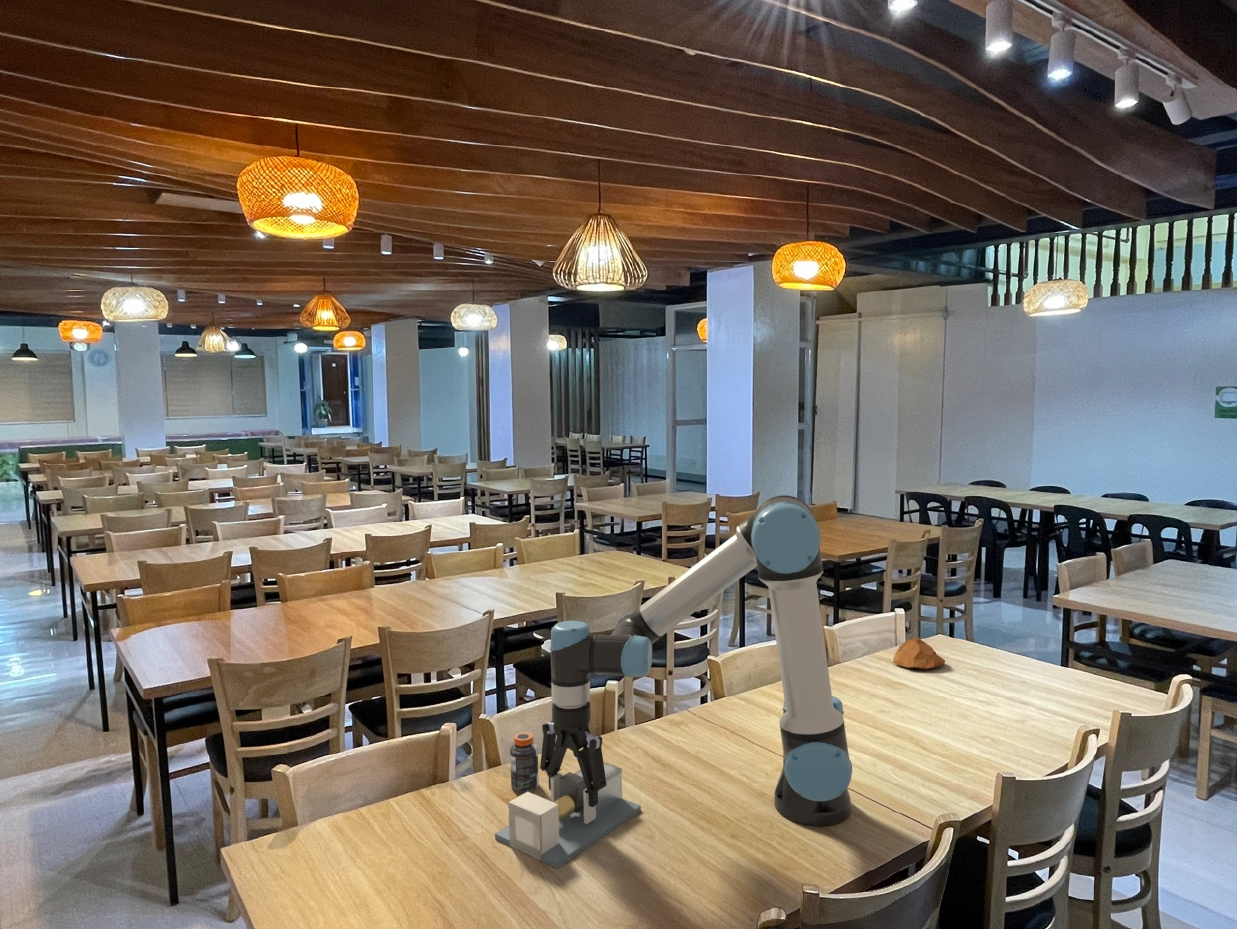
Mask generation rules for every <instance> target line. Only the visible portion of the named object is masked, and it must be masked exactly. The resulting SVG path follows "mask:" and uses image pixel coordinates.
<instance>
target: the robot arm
mask: <svg viewBox="0 0 1237 929" xmlns="http://www.w3.org/2000/svg"><path fill="white" fill-rule="evenodd" d="M823 567H824V566H823V559H822V551H821V531H820V528H819V525H818V522H817V520H816V518H815V515H814V513H813V511H812V510H811V508H810V506H809V505H808V504H807V503H806V502H804V501H803V500H802V499H800V498H798V497H796V496H793V495H789V494H788V495H787V494H782V495H775V496H772V497H770V498H769V499H767V500H765V501H764V502H763V503H762V504H761V505H760V506H758V507H757V508H756V509H755V511H754V512H752V513H751V515H749V517H747V518H746V519H744V521H742V522H741V523H739V524H738V525H737V526H736V529H735V534H734V535H732V536H731V537H729V538H728V539H727V540H726V541H724V542H723V543H722V544H720V545H719V546H718V547H716V548H715V549H714V550H712V552H709V553H708V555H707V554H706V556H705V557H703V558H702V559H701V560H699V561H698V562H697V563H695V564H693V566H692V567H690V568H688V569H687V570H686V571H685V572H684V573H682V574H680V576H678V577H677V578H675V579H674V580H673V581H672V582H670V583H669V584H668V585H667V586H665V587H664V588H663V589H661V590H660V591H659V592H657V593H656V594H654V595H653V596H652V597H651V598H650V599H648V600H646V601H645V602H644V603H643V604H641V605H640V606H639V607H638V608H637V609H635V610H634V611H633V612H628V613H627V614H625V615H624V616H622V618H621V619H619V620H618V622H617V624H616V625H615V628H614V629H613V631H612V633H610V634H594V633H591V630H590V627H589V625H588V624H587V623H586V622H584V621H579V620H566V621H565V620H564V621H559V622H558V623H555V624H554V626H553V627H551V630H550V647H549V650H550V669H551V672H550V673H551V675H550V676H551V702H552V704H551V720H549V721H548V722H545V723H543V724H542V726H541V727H542V733H543V738H542V739H543V740H542V744H541V745H542V748H541V756H540V764H539V765H540V766H539V768H540V770H541V771H542V772H543V771H545V772H546V775H547V776H548V789H549V791H550V801H551V802H554V801H556V800H558V799H559V798H560V791H559V778H560V777H562V776H563V775H564V773H562V772H560V771H562V770H563V769H562V768H561V767H562V764H563V761H564V758H565V755H566V752H567V750H570V751H572V754H573V755H574V758H576V759H577V763H578V767H579V770H581V772H582V775H583V779H584V782H585V785H586V788H587V789H585V790H583V796H584V823H586V824H588V823H589V822H591V821H592V820H594V819H595V818H596V805H597V804H598V791H599V790H601V789H602V788H604V787H605V786H606V785H607V783H606V776H605V770H604V763H603V762H604V757H603V752H602V751H603V750H602V746H603V737H602V736H601V735H598V736H595V735H592V734H591V731H590V727H589V725H590V722H591V715H592V714H591V713H592V712H591V711H592V710H591V702H590V699H591V675H601V676H602V675H603V676H615V677H616V676H617V677H626V678H633V677H634V678H635V677H647V676H648V675H649V674H650V672H651V666H652V662H653V644H654V643H656V642H657V641H658V640H659V639H660V638H662V637H663V636H664V635H665V634H666V633H668V632H669V631H671V630H672V629H674V628H675V627H676V626H678V625H679V624H681V623H682V622H683V621H684V620H686V619H687V618H688V617H689V616H692V614H694V613H695V612H696V611H698V610H699V609H700V608H702V607H703V606H705V605H706V604H707V603H709V602H710V601H711V600H713V599H715V598H716V597H717V596H718V595H719V594H721V593H722V592H724V591H725V590H726V589H728V588H729V587H731V586H732V585H733V584H735V583H736V582H737V581H739V580H740V579H741V578H743V577H744V576H746V575H747V574H748V573H749V572H751V571H753V569H755V568H757V574H758V579H759V580H760V582H762V583H763V584H765V586H767V587H768V592H769V593H768V594H769V601H770V608H771V614H772V620H773V627H774V635H775V641H776V650H777V655H778V663H779V671H780V676H781V677H780V678H781V684H782V685H781V686H782V690H783V698H784V699H783V707H782V711H783V714H782V716H781V717H780V718H779V720H778V721H779V729H780V730H779V731H780V736H781V742H782V743H781V744H782V755H783V757H782V759H783V760H782V763H783V764H782V770H781V772H780V775H779V778H778V781H777V784H776V786H775V790H774V793H773V794H774V798H773V800H774V807H775V810H777V812H778V813H779V815H782V816H783V817H785V818H786V819H789V820H790V821H793V822H795V823H798V824H803V825H807V826H817V827H818V826H819V827H823V826H824V827H825V826H832V825H837V824H839V823H842V822H844V821H846V820H847V819H848V818H849V817H850V816H851V812H852V800H851V795H850V792H849V789H848V787H849V786H850V783H851V780H852V776H853V775H852V774H853V764H852V761H851V759H850V755H849V748H848V741H847V734H846V727H845V719H844V718H845V717H844V714H845V711H844V709H843V708H844V706H843V702H842V700H840V698H838V697H836V696H834V695H833V693H832V687H831V680H830V679H831V678H830V672H829V666H828V659H827V657H828V656H827V650H826V643H825V636H824V630H823V622H822V616H821V615H822V614H821V607H820V606H821V605H820V599H819V594H818V592H819V591H818V586H817V582H818V579H820V577H821V576H822V574H823V573H824V568H823ZM592 782H593V783H592Z"/></svg>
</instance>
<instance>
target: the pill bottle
mask: <svg viewBox="0 0 1237 929" xmlns="http://www.w3.org/2000/svg"><path fill="white" fill-rule="evenodd" d="M513 740H514V741H513V744H512V746H510V750H509V752H510V753H509V761H510V763H509V764H510V786H511V789H512V790H513V791H515V792H518V793H526V792H532V791H535V790H536V789H537V788H538V786H539V785H540V784H539V782H540V780H539V753H538V752H539V751H538V746H537V744H536V743H534V736H533V734H532V733H530V732H520V733H517V734H515V735H514V737H513Z"/></svg>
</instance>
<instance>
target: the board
mask: <svg viewBox="0 0 1237 929" xmlns="http://www.w3.org/2000/svg"><path fill="white" fill-rule="evenodd" d="M641 807H642V805H640V804H638V803H635V802H633V801H629V800H627V799H625V798H622V799H621V800H619V801H618V802H616V803H614V804H613V805H611V806H610V807H608V808H607V809H605V810H604V811H602V812H601V813H599V814H598V815H596V818H595V819H594V820H592V821H591V822H589V823H588V824H586V823H584V811H583V810H581V811H579V812H577V813H575V812H574V813H572V814H571V815H569V816H567V817H566V818H564V819H563V820H561V821H559V843H558V844H557V845H555V846H554V847H552V848H551V849H549V850H548V851H546V852H545V853H543V854H542V855H540V857H541V861H540V862H542V863H545V864H547V865H549V866H551V867H553V868H556V869H559V867H561V866H563V865H564V864H566V862H568V861H570V860H571V859H572V858H574V857H575V856H577V855H578V854H580V853H582V851H584V850H586V849H587V848H588V847H590V846H591V845H593V844H594V843H596V842H598V841H599V840H601V838H603V837H604V836H606V835H607V834H608V833H610V832H612V831H613V830H615V829H616V828H617V827H619V826H620V825H622V824H623V823H625V822H626V821H628V820H629V819H631V818H632V817H634V816H635V815H636V814H638V813H639V812H641V811H642V808H641ZM494 839H495V840H497V841H500V842H501V843H503V844H505V845H507V846H509V847H511V846H510V837H509V825H507V826H506V827H504V828H502V829H501V830H499V831H496V832H495V833H494ZM512 845H514V844H512ZM516 845H517V844H516ZM532 853H533V852H532ZM537 856H538V855H536V857H537Z"/></svg>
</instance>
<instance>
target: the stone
mask: <svg viewBox="0 0 1237 929" xmlns="http://www.w3.org/2000/svg"><path fill="white" fill-rule="evenodd" d="M892 663H893V664H895V665H897V666H899V667H904V668H907V669H909V668H910V669H912V668H913V669H914V668H915V669H921V670H922V669H923V670H927V669H931V668H933V669H934V668H937V667H940V666H941V667H942V666H944V665H946V660H945V659H944V658H943V657H941V656H939V654H937V653H936V651H935V650H934V648H933V647H932V646H931V645H929V644H928V643H926V642H925V641H923V640H922V638H920V637H918V636H917V637H915V638H909V639H907V640H906V641H905V642H904V643H902V644H901V645H899V647H898V649H897V650H896V651H895V654H894V657H893V662H892Z"/></svg>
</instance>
